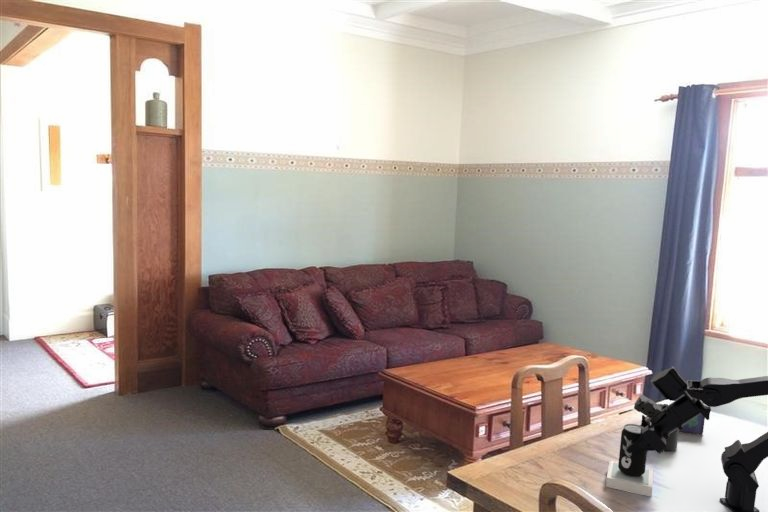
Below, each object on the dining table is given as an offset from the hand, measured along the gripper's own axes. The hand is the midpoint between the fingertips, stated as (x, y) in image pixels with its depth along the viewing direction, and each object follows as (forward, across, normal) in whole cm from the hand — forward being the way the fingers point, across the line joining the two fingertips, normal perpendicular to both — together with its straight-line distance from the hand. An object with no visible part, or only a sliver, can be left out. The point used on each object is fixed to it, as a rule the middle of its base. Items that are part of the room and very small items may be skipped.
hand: (628, 446), depth 167 cm
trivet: (+6, 0, +8) cm, 10 cm away
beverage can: (+4, 0, +6) cm, 7 cm away
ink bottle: (+1, -30, +13) cm, 33 cm away
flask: (-4, -46, +19) cm, 50 cm away
